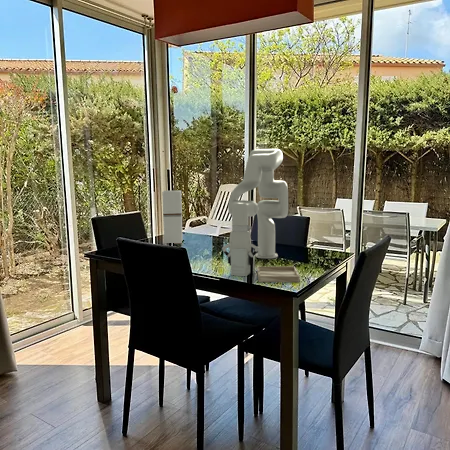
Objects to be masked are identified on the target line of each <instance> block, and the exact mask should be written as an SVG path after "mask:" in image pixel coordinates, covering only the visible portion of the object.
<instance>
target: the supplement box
mask: <svg viewBox="0 0 450 450" xmlns="http://www.w3.org/2000/svg"><path fill="white" fill-rule="evenodd" d="M250 274H251V266H250V255H249V254H248V253H247V249H231V266H230V275H231V276H233V275H234V276H233V277H236V276H237V277H244V276H245V277H247V276H248V275H250ZM246 275H247V276H246Z"/></svg>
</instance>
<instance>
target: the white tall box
mask: <svg viewBox="0 0 450 450" xmlns="http://www.w3.org/2000/svg"><path fill="white" fill-rule="evenodd" d="M162 214H163V215H162V216H163V217H162V219H163V220H162V221H163V222H162V223H163V244H164V243H174V244H182V241H183V209H182V190H163V191H162ZM182 245H183V244H182Z"/></svg>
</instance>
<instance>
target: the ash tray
mask: <svg viewBox="0 0 450 450" xmlns="http://www.w3.org/2000/svg"><path fill="white" fill-rule="evenodd" d="M256 268H257V270H256V271H257V279H258V283H300V282H301V276H300V274H299V272H298V269H297V268H296V266H257V267H256Z"/></svg>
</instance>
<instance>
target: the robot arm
mask: <svg viewBox="0 0 450 450" xmlns="http://www.w3.org/2000/svg"><path fill="white" fill-rule="evenodd" d="M283 159H284V155H283V151H282V150H281V149H279V148H259V149H252V150H251V151H250V153H249V156H248V157H247V161H246V164H245V165H246V166H245V170H244V174H243V178H242V181H240V183H238V184H237V185H236V186H235V187H234V189H233V190H232V192H231V193H230V197H229V201H228V206H227V207H228V208H227V209H228V210H227V211H228V213H229V215H231V231H230V234H229V243H227V244H226V245H224V246H222V247H221V250H222V252H223V253H224V255H225V256H226V257H227V264H229V266H230V267H231V249H247V253H248V254H249V255H250V267H252V265H253V262H254V261H253V260H254V257H256V258H258V259H263V260H265V259H267V260H270V259H277V258H278V257H279V255H278V253H277V252H276V223H275V222H274V220H273V218H274V219H285V218H286V217H287V216H288V214H289V188H288V187H289V186H288V184H287V182H286V181H285V180H275V178H274V171H275V170H276V169H278V167H279V166H280V165H281V164H282V162H283ZM256 188H258V195H259V197H261V198H265V199H264V200H260V201H258V202H256V201H254V200H239V199H240V197H241V196H242V195H243V194H245V193H247V192H249V191H252V190H254V189H256ZM271 199H272V200H271ZM273 199H278V200H273ZM256 215H257V246H256V245H255V244H254V243H252V235H251V231H249V230H252V226H251V225H249V217H255V216H256ZM252 248H253V249H254V251H253V252H252ZM226 249H229V252H228V251H227V250H226Z"/></svg>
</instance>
